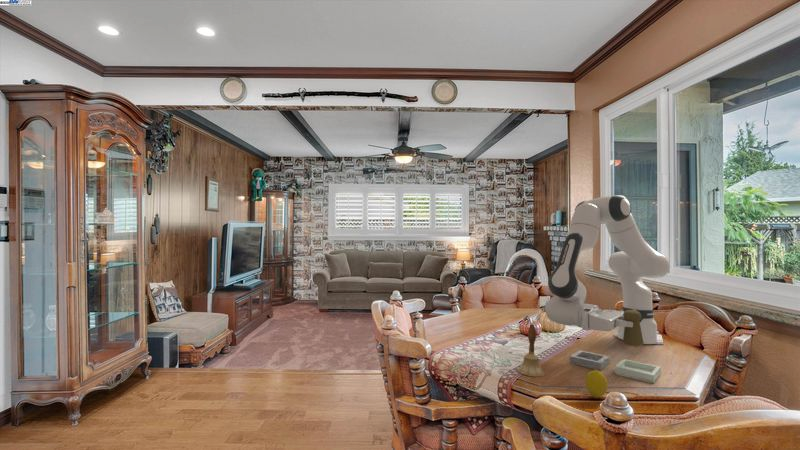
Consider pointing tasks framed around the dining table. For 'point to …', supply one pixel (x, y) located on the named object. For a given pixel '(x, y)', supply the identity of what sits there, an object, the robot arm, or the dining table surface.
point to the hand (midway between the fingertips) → (635, 323)
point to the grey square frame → (590, 360)
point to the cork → (633, 329)
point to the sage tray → (638, 370)
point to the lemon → (596, 383)
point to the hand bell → (531, 357)
